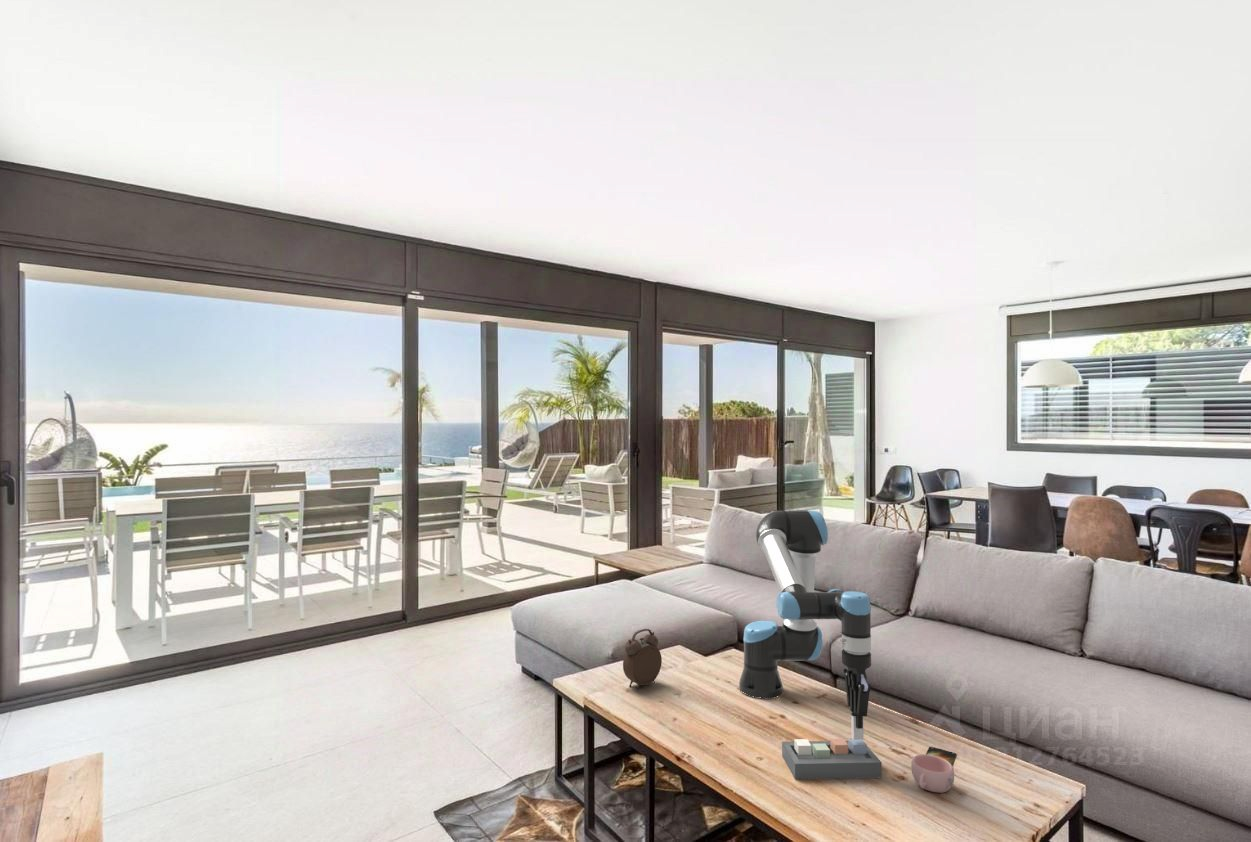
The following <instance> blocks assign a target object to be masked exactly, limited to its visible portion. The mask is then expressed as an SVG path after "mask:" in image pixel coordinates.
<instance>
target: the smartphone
mask: <svg viewBox="0 0 1251 842" xmlns="http://www.w3.org/2000/svg"><path fill="white" fill-rule="evenodd" d="M925 754H927V755H933V756H937V757H940V758H942V759H944V760H946V761H948V762H949V763H950V764H951V765H952V767H953V765H954V762H955V760H956V758H957V753H956V752H953V751H950V750H945V749H942V748H938V747H934V746H929V747H928V749H927V750H926V753H925Z"/></svg>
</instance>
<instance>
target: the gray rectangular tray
mask: <svg viewBox="0 0 1251 842" xmlns="http://www.w3.org/2000/svg"><path fill="white" fill-rule="evenodd" d="M808 741H809V743H810V744H811V746H812V744H824V743H825V744H826V745H827V747H828V748H829V749H830V759H816V757H815V756H814V754H813V753H812V755H798V753H797V752H796V750H795V749H794V741H782V742H781V756H782V759H783V760H784V763H785V765H786V767H788V769H789V771H790V773H791V775H792V777H793V778H794V780H831V779H832V780H833V779H834V780H835V779H837V780H838V779H843V780H844V779H882V778H883V775H882V774H883V772H882V770H883V769H882V768H883V767H882V761H881V760H880V759H879V758H878V757H877V755H876V754H875V753H874V752H873V751H872V749H871V748H870V747H869V746H868V745H867V754H853V753H852V751H851V750H850V749H849V748H848V754H835V753H834V752H833V751H832V749H831V748H830V740H808ZM845 742H846V743H847V744H848V740H845Z"/></svg>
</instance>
